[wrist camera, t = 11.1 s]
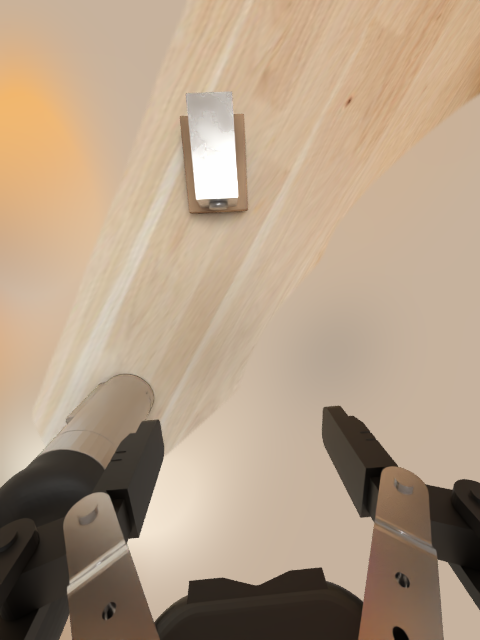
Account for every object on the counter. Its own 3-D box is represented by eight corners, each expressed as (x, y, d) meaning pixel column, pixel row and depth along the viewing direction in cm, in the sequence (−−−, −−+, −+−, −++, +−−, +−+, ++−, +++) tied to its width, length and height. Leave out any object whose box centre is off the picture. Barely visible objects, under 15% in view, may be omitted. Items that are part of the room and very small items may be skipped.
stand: (193, 216, 37) (189, 211, 33) (185, 131, 34) (179, 116, 30) (245, 213, 37) (247, 209, 33) (241, 129, 34) (243, 114, 30)
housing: (192, 115, 30) (184, 86, 25) (230, 114, 30) (231, 84, 25) (201, 212, 33) (196, 205, 28) (236, 210, 33) (238, 202, 28)
